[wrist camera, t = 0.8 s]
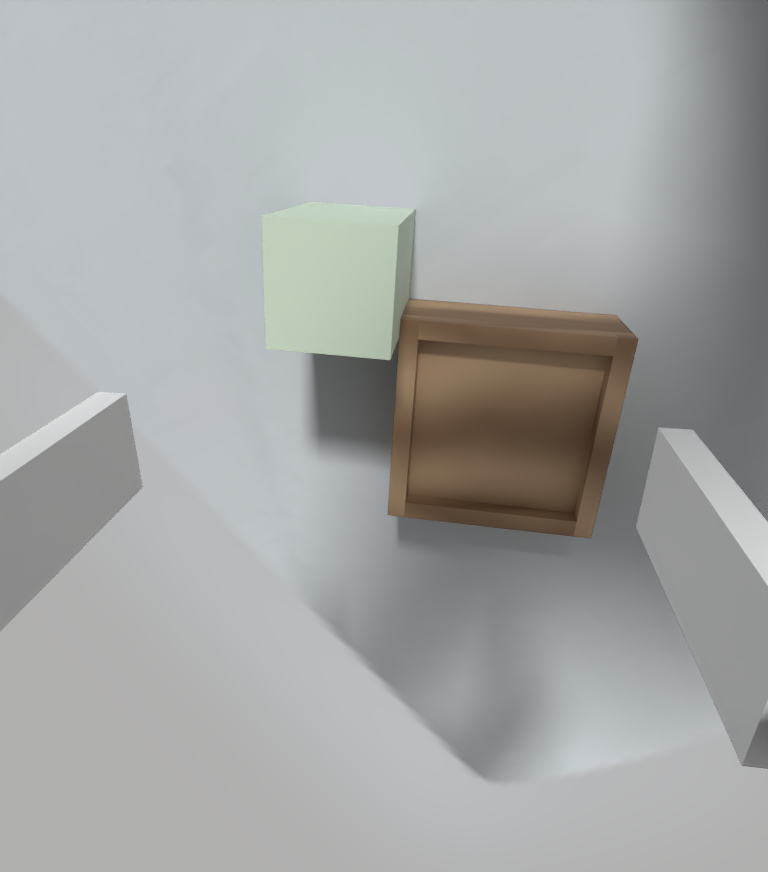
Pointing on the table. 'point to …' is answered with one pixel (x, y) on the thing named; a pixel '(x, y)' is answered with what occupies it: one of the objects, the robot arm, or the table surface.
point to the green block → (336, 278)
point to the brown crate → (506, 415)
